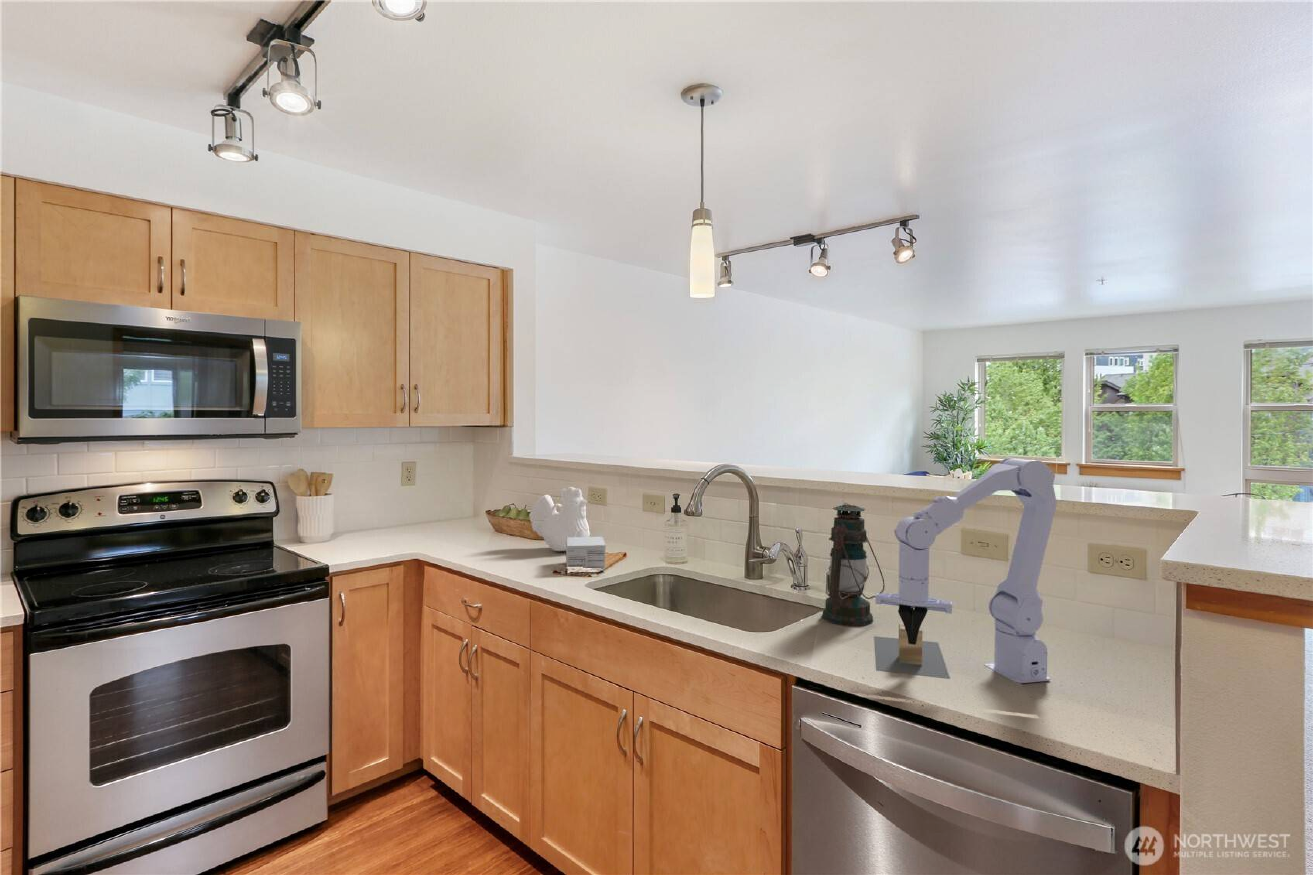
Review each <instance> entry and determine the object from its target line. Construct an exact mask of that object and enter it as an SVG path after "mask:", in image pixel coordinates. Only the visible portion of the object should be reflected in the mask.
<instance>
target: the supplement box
mask: <svg viewBox="0 0 1313 875" xmlns="http://www.w3.org/2000/svg"><path fill="white" fill-rule="evenodd" d="M606 549H607V548H606V543H605V540H604V537H603V536H590V537H567V538H566V551H565V562H566V566H567V567H583V568H601V569H603V570H605V571H606ZM567 567H566V568H567Z"/></svg>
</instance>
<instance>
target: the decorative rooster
mask: <svg viewBox="0 0 1313 875" xmlns="http://www.w3.org/2000/svg"><path fill="white" fill-rule="evenodd" d="M560 497H561V499H562V503H555V504H554V501H553V499H552V497H551V496H550V495H549V494H544V495H543V496H540V497H539V498H538V500H536V501H535V502H534V503H533V504H532V507H531V512H530V513H529V514H528V516H529V521H530V522H531V528H532V530H533V531H534V532H536V534H537V535H538V536H539V537H543V539H544V541H545V543H546V545H547V546H548V547H549V548H550V549H551V550H553V552H566V538H567V537H591V536H590V535H591V532H590V526H589V523H588V520H587V517H586V516H587V511H586V510H587V507H586V505H587V503H588V501H587V500H586V499H585V498H583V492H582V489H580V488H578V487H577V488H575V487H574V486H568V487H566V488H562V490H561V491H560ZM557 508H559V512H558V511H557Z"/></svg>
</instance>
